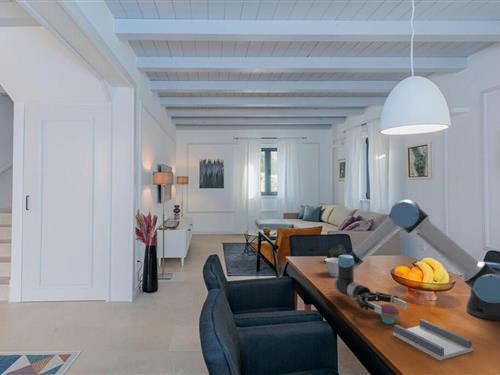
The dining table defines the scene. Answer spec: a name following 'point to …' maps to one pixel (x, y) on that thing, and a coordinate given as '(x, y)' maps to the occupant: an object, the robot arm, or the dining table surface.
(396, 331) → the rail board
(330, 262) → the teacup
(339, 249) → the squash
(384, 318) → the cupcake
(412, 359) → the dining table surface
